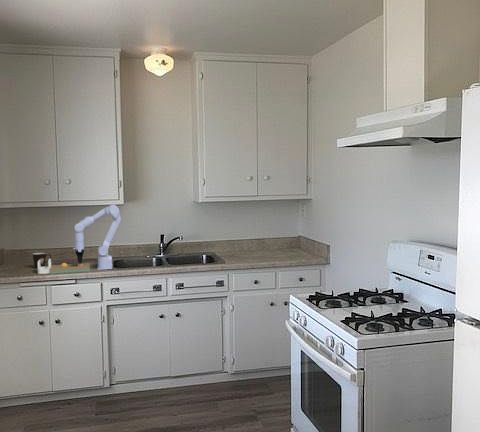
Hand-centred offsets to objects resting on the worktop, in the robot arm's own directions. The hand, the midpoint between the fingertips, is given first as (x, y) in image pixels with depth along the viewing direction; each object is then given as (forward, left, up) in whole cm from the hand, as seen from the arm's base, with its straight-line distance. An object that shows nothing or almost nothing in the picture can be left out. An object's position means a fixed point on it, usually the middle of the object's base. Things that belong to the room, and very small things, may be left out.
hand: (80, 261), depth 337 cm
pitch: (+10, 0, -6) cm, 12 cm away
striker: (0, 0, -4) cm, 4 cm away
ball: (+10, 0, -2) cm, 10 cm away
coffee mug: (+25, -20, -6) cm, 33 cm away
